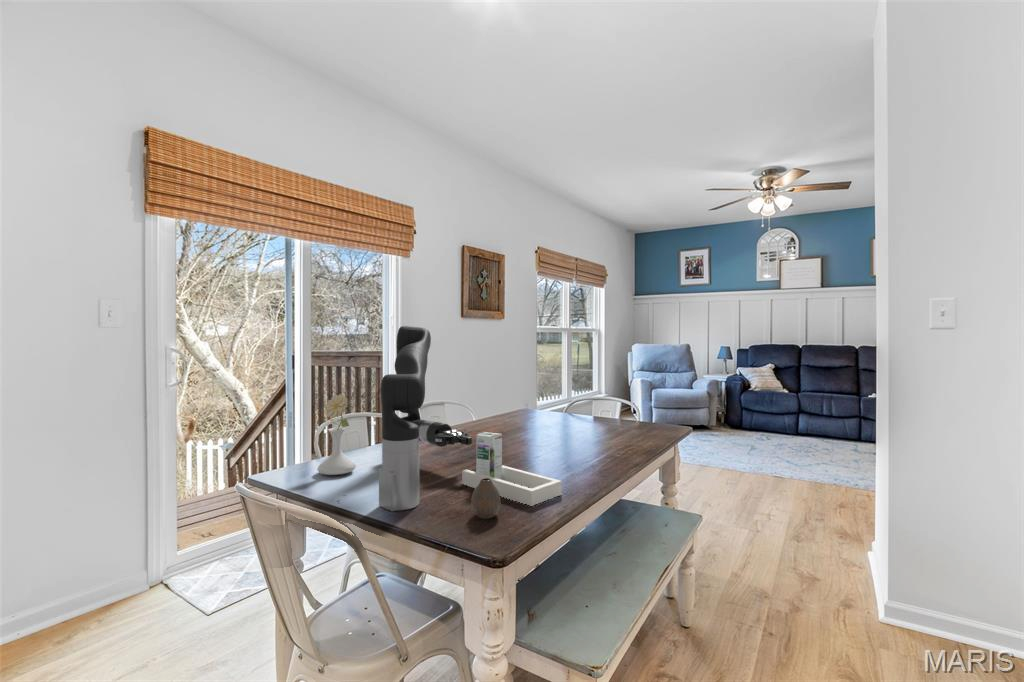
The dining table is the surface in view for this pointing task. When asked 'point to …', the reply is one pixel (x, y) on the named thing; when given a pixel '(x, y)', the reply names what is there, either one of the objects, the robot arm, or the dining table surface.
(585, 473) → the dining table surface
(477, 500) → the vase
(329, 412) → the flower in vase
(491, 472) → the syrup box
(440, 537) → the dining table surface
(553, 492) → the rectangular tray
